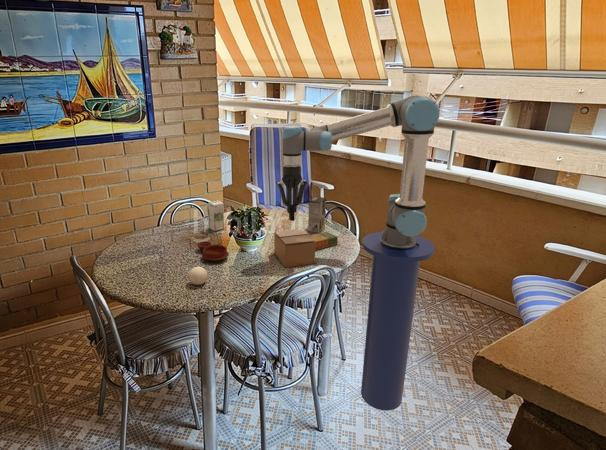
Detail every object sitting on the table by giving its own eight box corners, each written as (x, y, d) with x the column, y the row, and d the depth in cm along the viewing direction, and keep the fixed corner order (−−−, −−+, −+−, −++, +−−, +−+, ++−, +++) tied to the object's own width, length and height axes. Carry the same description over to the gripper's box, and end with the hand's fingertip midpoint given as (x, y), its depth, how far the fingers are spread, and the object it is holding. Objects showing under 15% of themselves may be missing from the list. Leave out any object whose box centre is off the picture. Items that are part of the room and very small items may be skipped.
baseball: (212, 282, 156) (211, 266, 154) (197, 289, 151) (196, 273, 149) (200, 277, 161) (199, 261, 158) (185, 284, 155) (184, 268, 153)
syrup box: (218, 226, 216) (217, 199, 211) (224, 229, 211) (223, 202, 207) (209, 228, 213) (207, 201, 208) (214, 231, 208) (213, 204, 204)
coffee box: (313, 225, 215) (314, 196, 209) (325, 227, 212) (326, 197, 207) (307, 231, 207) (308, 200, 202) (319, 233, 204) (320, 202, 199)
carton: (299, 246, 189) (299, 237, 187) (326, 239, 197) (326, 230, 195) (310, 252, 182) (310, 243, 181) (337, 244, 190) (338, 235, 188)
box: (274, 253, 182) (274, 231, 178) (301, 249, 185) (302, 228, 181) (285, 267, 168) (285, 244, 165) (314, 263, 171) (315, 240, 168)
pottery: (209, 266, 169) (208, 257, 168) (189, 251, 185) (189, 242, 184) (233, 260, 175) (233, 250, 174) (212, 245, 191) (212, 236, 190)
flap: (274, 232, 178) (274, 231, 178) (302, 229, 181) (302, 228, 181) (279, 237, 172) (279, 236, 171) (308, 234, 175) (308, 233, 174)
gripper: (303, 162, 172) (302, 215, 180) (274, 164, 169) (274, 218, 176) (310, 165, 165) (309, 220, 173) (279, 168, 162) (280, 224, 170)
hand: (291, 219), depth 175 cm, fingers closed
